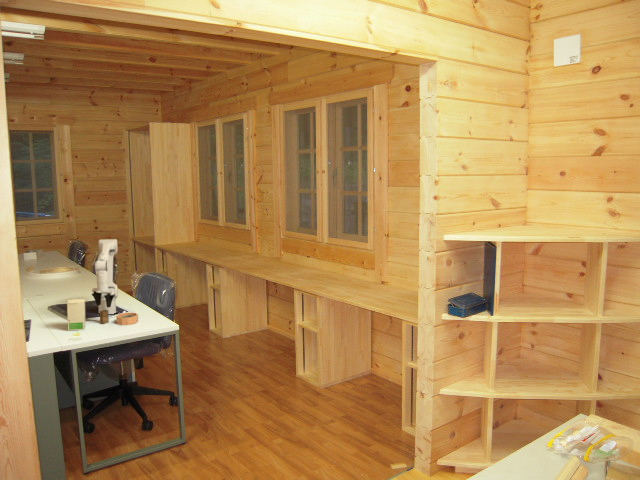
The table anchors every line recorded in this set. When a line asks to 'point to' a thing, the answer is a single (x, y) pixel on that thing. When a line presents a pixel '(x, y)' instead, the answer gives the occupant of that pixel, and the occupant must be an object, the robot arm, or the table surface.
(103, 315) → the wooden rectangular peg
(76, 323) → the skincare box
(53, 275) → the table surface
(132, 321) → the faceted orange bowl
